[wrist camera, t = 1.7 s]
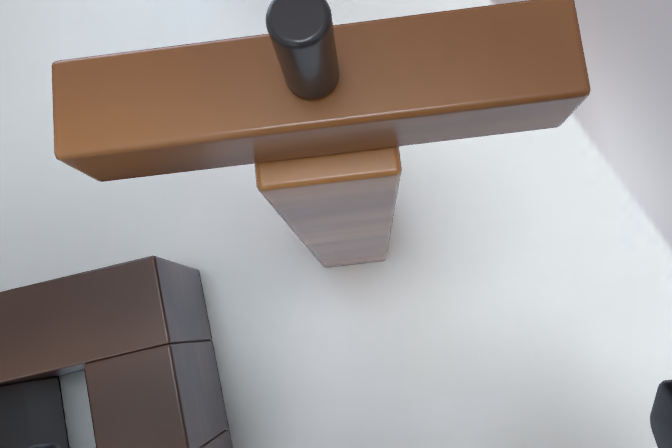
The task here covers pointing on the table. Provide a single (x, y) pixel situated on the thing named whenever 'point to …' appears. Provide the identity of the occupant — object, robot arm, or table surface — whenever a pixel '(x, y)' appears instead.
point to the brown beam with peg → (322, 106)
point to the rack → (112, 358)
